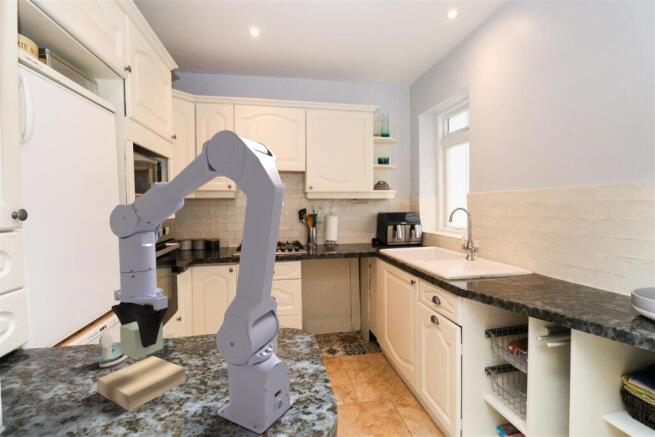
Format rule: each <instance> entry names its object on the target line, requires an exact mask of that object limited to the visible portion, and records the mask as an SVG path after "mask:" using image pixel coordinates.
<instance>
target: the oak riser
mask: <svg viewBox="0 0 655 437" xmlns="http://www.w3.org/2000/svg"><path fill="white" fill-rule="evenodd" d="M185 382H186V368H185V367H184V366H180V365H178V364H176V363H173V362H170V361H168V360H165V359H163V358H161V357H157V356H156V355H155V356H154V355H152V356H149V357H147V358H144V359H142V360H139V361H137V362H135V363H132V364H130V365H127V366H124V367H123V368H120V369H117V370H115V371H113V372H111V373H108V374H106V375H104V376H100V377H98V378H97V392H98V394H100V395H101V396H103V397H105V398H107V399H108V400H109V401H111V402H113V403H114V404H116V405H117V406H120V407H122V408H123V409H125V410H126V411H128V412H132V411H134V410H135V409H137V408H139V407H140V406H143V405H145V404H146V403H148V402H151V401H152V400H154V399H155V398H158V397H160V396H161V395H163V394H165V393H166V392H168V391H169V392H170V390H173V389H174V388H176V387H178V386H179V384H180V385H181V383H182V384H183V383H185Z"/></svg>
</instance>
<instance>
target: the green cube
mask: <svg viewBox="0 0 655 437" xmlns="http://www.w3.org/2000/svg"><path fill="white" fill-rule="evenodd" d="M163 327H164V326H163V321H162V322H161V325H160V329H159V333H158V338H157V342H156V344H154V345H151V346H149V347H146V348H144V347H143V346H142V343H141V338H140V331H139V327H138V324H137V322H133V323H129V324H126V325H123V326H121V325H119V334H120V339H119V340H120V344H121V354H124V355H126V356H128V358H131V359H134V360H137V359H140V358H142V357H145V356H147V355H149V354H152V353H154V352H157V351H159V350H162V349H164V338H163V337H164V331H163Z"/></svg>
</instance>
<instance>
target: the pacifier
mask: <svg viewBox="0 0 655 437" xmlns="http://www.w3.org/2000/svg"><path fill="white" fill-rule="evenodd" d="M98 342H99V344H98V345H99V346H100V348H102V350H101V351H102V352H101V353H102V356H97V357H93V358H88V361H90V362H95V363H99V364H98V366H99V367H100V368H108V367H111V366H112V367H113V366H115V365H118V364H120V363H122V362H123V361H125V360H126V359H127V358H129V356H126V355H124V354H121V343H119V344H115V345H113V344H114V337H113V335H112V334H111V333H109V332H108V333H107V332H105V333H103V334H102V335H101V336H100V338H99V340H98ZM119 357H120V358H119Z"/></svg>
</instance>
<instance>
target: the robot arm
mask: <svg viewBox="0 0 655 437" xmlns="http://www.w3.org/2000/svg"><path fill="white" fill-rule="evenodd" d="M218 177H225V178H227V179H229V180H231V181H232V182H233V183H235V185H236V186H237V187H238V188H239V189H240V190H241V191H242V193H243V194H244V195H245V196H246V205H245V212H244V213H245V215H244V222H243V231H242V240H241V246H240V247H241V248H240V249H241V250H240V257H239V265H238V271H237V272H238V273H237V274H238V275H237V282H236V290H235V296H234V298H233V299H232V301H231V302H230V304H229V305H228V306H227V309H226V310H225V312H224V316H223V322H222V324H221V326H220V327H219V329H218V330H217V332H216V337H215V338H216V339H215V343H216V348H217V349H216V350H217V351H218V353H219V355H220V356H221V358H223V359H224V363H226V364H227V382H228V387H227V388H228V402H227V403H226V404H224V405H223V406H222V407H220V408H219V409H217V411H216V415H217V416H220V417H221V418H225V419H226V420H228V421H231V422H233V423H235V424H237V425H239V426H242V427H243V428H246V429H248V430H250V431H252V432H255V433H256V434H263V433H264V432H265V431H267V429H268V428H269V427H271V425H273V424H274V423H275V422H276V421H277V420H278V419H279V418H281V416H282V415H284V413H285V412H287V410H289V409H290V408H291V407H293V405H294V400H292V399H291V393H290V391H291V389H290V387H291V386H290V368H289V365H288V364H287V362H286V361H284V360H282V359H280V358H279V357H278V356H277V355H275V354H274V352H273V338H274V337H275V336H276V335H277V336H278V333H279V330H280V319H279V315H278V311H277V310H278V309H277V308H278V302H277V300H275V298H273V297H272V296H271V295H272V287H273V280H274V272H275V271H274V270H275V263H276V256H277V248H278V240H279V230H280V224H281V215H282V209H283V208H282V207H283V200H284V194H285V193H284V185H283V182H282V179H281V177H280V173H279V170H278V168H277V156H276V155H275V154H274V153H273V151H272V150H270V149H269V147H268V146H266V145H265V144H264V143H262V142H258V141H257V142H256V141H254V140H252V139H250V138H247V137H245V136H242V135H239V134H237V133H236V132H235V131H232V130H229V129H222V130H219V131H217V132H216V133H214V134H213V135H212V136H211V138H210V139H208V140H206V141H204V142H203V144H202V148H201V152H200V153H199V154H198V155H197V156H196V157H195V158H194V159H193V160H192V161H191V162H190V163H189V164H188V165H187V166H185V167H184V168H183V169H182V170H181V171H180V172H179V173H178V174H177V175H176V176H175V177H174V178H173V179H171V181H169V182H167V181H159V182H157V181H155V182H153V183H152V184H150V188H149V189H148V190H146V191H145V192H144V193H143V194H142V195H141V196H139V197H137V198H135V199H134V201H133V202H132V203H128V204H123V203H121V204H117V205H115V208H113V210H111V212H110V215H109V221H108V222H109V227H110V230H111V232H112V233H113V235H115V236H116V237H118V238H117V239H118V256H119V259H118V260H119V283H120V284H119V286H120V287H119V288H120V289H118V290H116V289H114V290H113V293H114V294H113V296H114V301H116V302H119V301H120V302H119V304H115V305H112V306H111V307H110V308H111V311H112V312H113V313H114V314H115V315H116V317H117V319H118V321H119V323H120V326H123V325H126V324H129V323H133V322H137V324H138V327H139V331H140V338H141V343H142V346H143V347H144V348H146V347H149V346H151V345H154V344H156V342H157V338H158V333H159V329H160V325H161V322H162V323H163V320H164V317H165V315H166V313H167V312H168V311H169V305H168V296H167V295H164V294H162V293H163V292H164V291H163V288H159V287H158V284H157V282H158V281H157V259H156V258H157V257H156V244H157V243H158V241H159V238H158V236H159V233H160V230H161V229H162V226H163V222H165V221H166V220H168V219H169V218H170V217H171V216H173V215H174V214H175V213H177V212H178V211H179V210H181V209H183V207H184V205H185V198H186V197H188V196H189V195H191V194H192V193H194V192H195V191H197V190H198V189H199V188H201V187H203V186H205V185H207V184H208V183H210V182H211V181H213V180H214V179H215V178H218Z"/></svg>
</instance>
